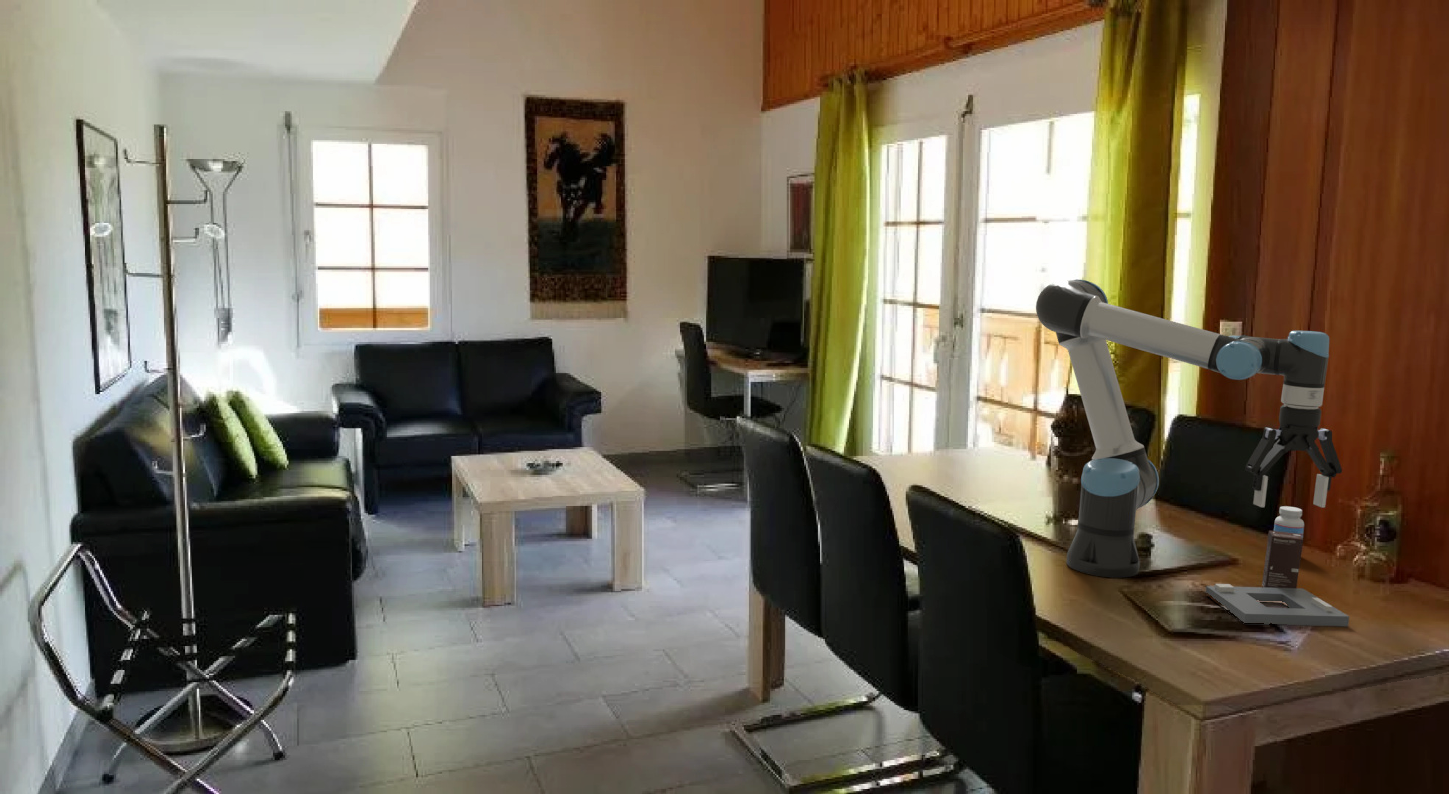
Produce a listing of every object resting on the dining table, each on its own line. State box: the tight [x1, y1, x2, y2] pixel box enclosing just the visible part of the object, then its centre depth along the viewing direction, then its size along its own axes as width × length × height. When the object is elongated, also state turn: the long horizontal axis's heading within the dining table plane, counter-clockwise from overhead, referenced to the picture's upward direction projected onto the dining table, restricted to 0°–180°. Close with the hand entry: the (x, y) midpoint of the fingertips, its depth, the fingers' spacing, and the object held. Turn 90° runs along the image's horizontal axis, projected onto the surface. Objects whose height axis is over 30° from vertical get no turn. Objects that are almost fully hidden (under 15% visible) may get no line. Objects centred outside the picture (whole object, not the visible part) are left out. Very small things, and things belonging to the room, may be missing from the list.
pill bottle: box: [1273, 505, 1305, 538], centre depth 247 cm, size 6×6×11 cm
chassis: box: [1205, 583, 1350, 627], centre depth 210 cm, size 20×16×3 cm
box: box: [1261, 530, 1304, 588], centre depth 222 cm, size 6×4×12 cm
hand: (1289, 505), depth 223 cm, fingers open, 13 cm apart
